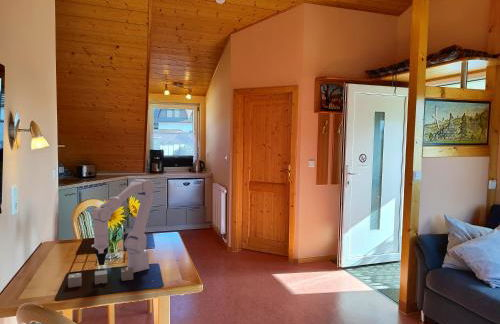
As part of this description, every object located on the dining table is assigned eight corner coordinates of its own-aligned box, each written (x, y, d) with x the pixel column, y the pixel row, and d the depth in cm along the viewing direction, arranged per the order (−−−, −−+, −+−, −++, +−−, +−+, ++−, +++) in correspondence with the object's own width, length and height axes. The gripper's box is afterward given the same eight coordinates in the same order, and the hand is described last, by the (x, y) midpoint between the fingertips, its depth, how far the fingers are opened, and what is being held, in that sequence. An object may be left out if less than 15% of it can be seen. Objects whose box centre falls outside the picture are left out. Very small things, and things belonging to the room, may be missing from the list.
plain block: (107, 278, 164) (107, 270, 164) (107, 282, 160) (107, 273, 160) (95, 280, 163) (95, 271, 162) (94, 284, 158) (94, 275, 158)
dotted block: (81, 281, 161) (81, 272, 160) (81, 285, 156) (81, 276, 156) (68, 283, 159) (68, 273, 158) (68, 287, 154) (68, 277, 154)
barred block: (132, 275, 169) (132, 266, 168) (133, 279, 164) (133, 270, 164) (121, 276, 167) (121, 267, 167) (121, 280, 162) (121, 271, 162)
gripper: (92, 231, 165) (92, 260, 166) (90, 239, 152) (91, 271, 153) (108, 230, 168) (109, 258, 169) (108, 238, 155) (109, 269, 155)
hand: (101, 264), depth 161 cm, fingers closed
